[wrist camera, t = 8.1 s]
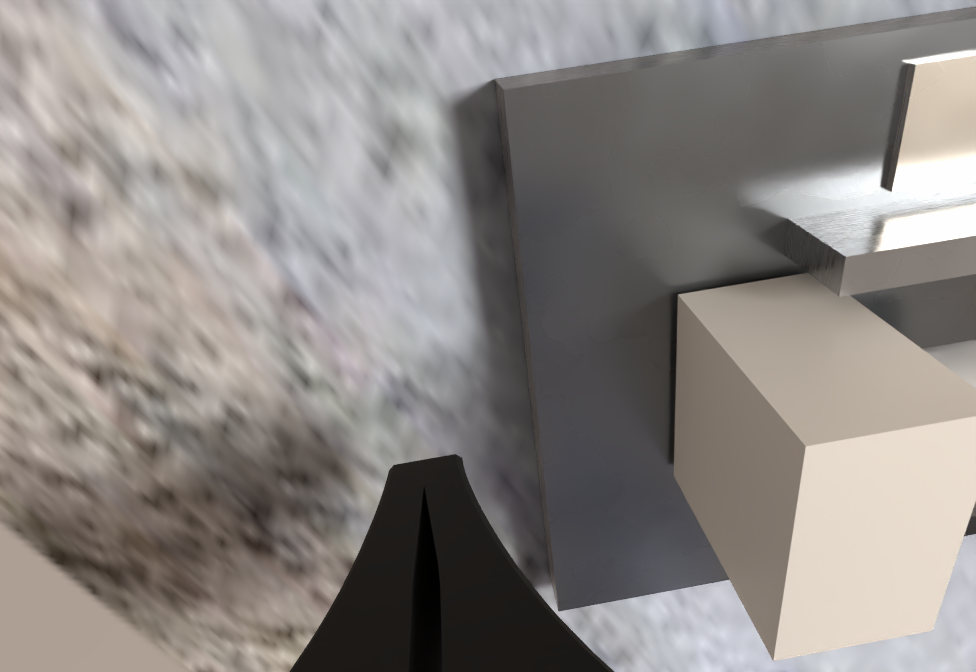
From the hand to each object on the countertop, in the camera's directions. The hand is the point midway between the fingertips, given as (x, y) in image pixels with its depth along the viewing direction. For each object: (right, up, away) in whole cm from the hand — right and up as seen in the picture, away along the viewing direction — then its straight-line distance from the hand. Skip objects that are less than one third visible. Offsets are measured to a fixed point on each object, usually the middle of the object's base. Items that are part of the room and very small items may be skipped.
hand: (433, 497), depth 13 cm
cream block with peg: (+8, +2, +2) cm, 9 cm away
